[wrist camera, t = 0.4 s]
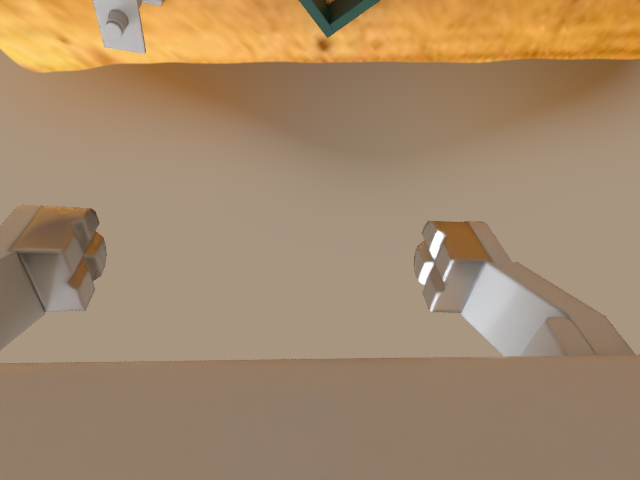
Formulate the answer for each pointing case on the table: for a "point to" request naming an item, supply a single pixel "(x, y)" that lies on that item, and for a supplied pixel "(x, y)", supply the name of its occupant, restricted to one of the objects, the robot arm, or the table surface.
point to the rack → (335, 12)
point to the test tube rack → (122, 23)
